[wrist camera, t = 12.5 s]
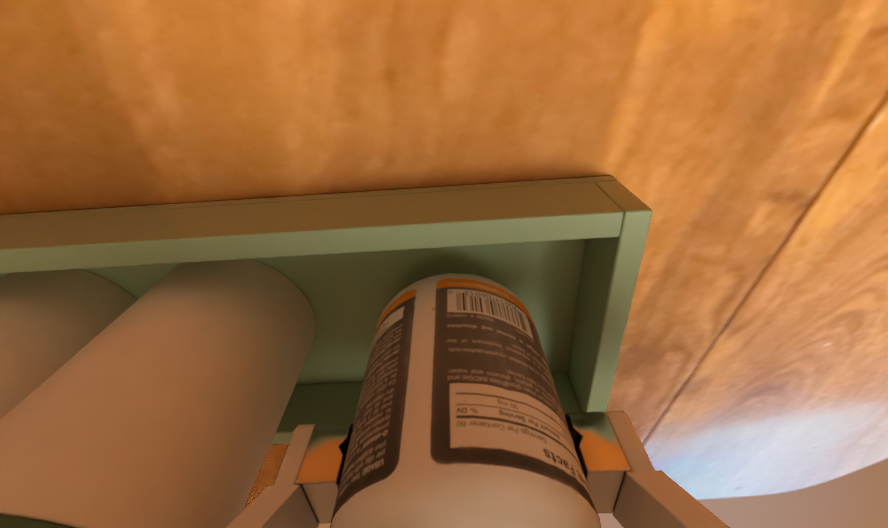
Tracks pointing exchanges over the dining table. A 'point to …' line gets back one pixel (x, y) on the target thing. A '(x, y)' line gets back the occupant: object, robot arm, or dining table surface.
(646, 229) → the bottle tray
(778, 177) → the dining table surface
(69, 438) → the white bottle
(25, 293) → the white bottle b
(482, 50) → the dining table surface
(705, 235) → the dining table surface
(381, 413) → the pill bottle
